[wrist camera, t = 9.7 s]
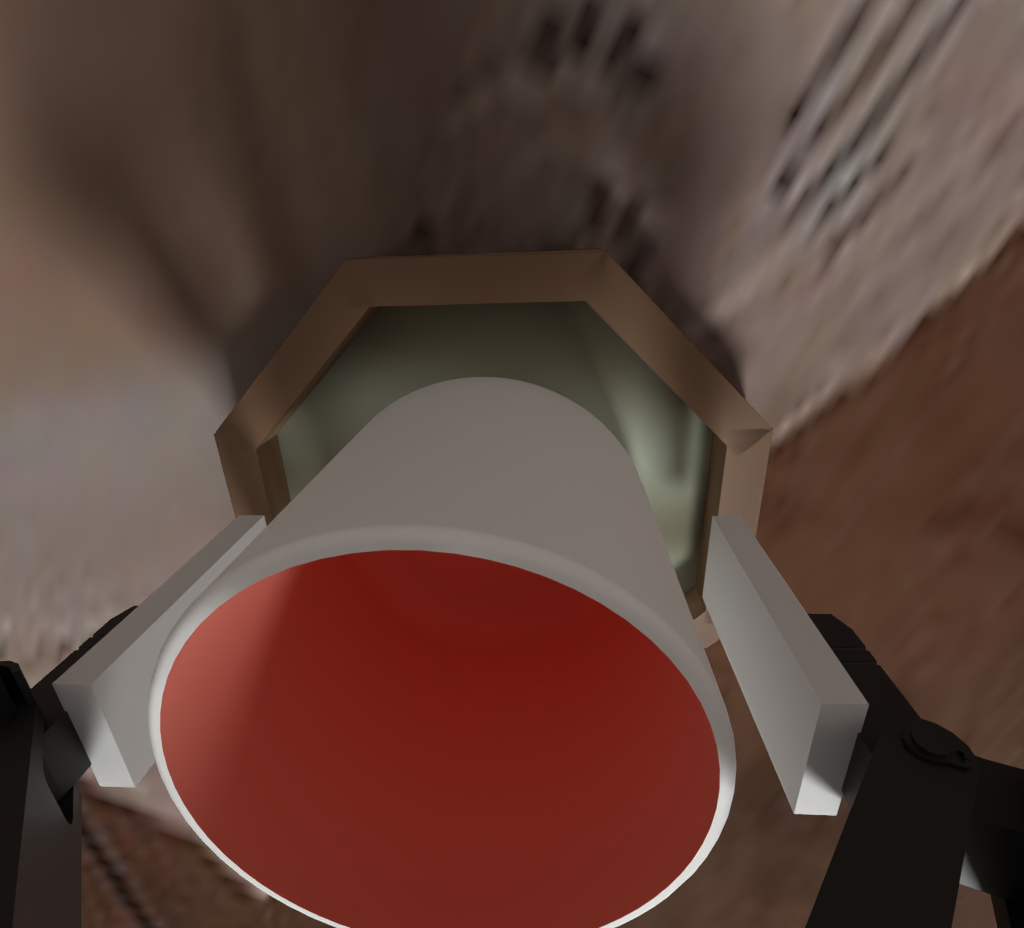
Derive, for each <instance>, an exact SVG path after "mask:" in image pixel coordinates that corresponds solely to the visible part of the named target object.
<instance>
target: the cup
mask: <svg viewBox="0 0 1024 928" xmlns="http://www.w3.org/2000/svg"><path fill="white" fill-rule="evenodd" d="M148 727H149V735H150V740H151V745H152V751H153V755H154V758H155V761H156V764H157V767H158V770H159V773H160V776H161V778H162V780H163V782H164V784H165V786H166V788H167V790H168V792H169V794H170V796H171V798H172V800H173V801H174V803H175V804H176V806H177V808H178V809H179V811H180V812H181V814H182V815H183V817H184V818H185V820H186V821H187V822H188V824H189V825H190V826H191V827H192V829H193V830H194V831H195V832H196V833H197V835H198V836H199V837H200V838H201V840H202V841H203V842H204V843H205V844H206V845H207V846H208V847H209V848H210V849H211V850H212V851H213V852H214V853H215V854H216V855H217V856H218V857H219V858H220V859H221V860H223V861H224V862H225V863H226V864H227V865H229V866H230V867H231V868H232V869H234V870H235V871H236V872H237V873H238V874H240V875H241V876H242V877H243V878H245V879H246V880H248V881H249V882H251V883H252V884H254V885H255V886H256V887H258V888H259V889H261V890H262V891H264V892H265V893H267V894H269V895H270V896H272V897H274V898H275V899H277V900H279V901H281V902H282V903H284V904H286V905H288V906H290V907H292V908H294V909H296V910H298V911H300V912H302V913H304V914H306V915H308V916H310V917H312V918H314V919H317V920H319V921H322V922H324V923H327V924H329V925H331V926H334V927H337V928H615V927H617V926H619V925H622V924H624V923H626V922H628V921H630V920H632V919H634V918H636V917H638V916H639V915H641V914H643V913H644V912H646V911H648V910H649V909H651V908H653V907H654V906H656V905H657V904H658V903H660V902H661V901H663V900H664V899H666V898H667V897H668V896H669V895H670V894H672V893H673V892H674V891H675V890H676V889H677V888H678V887H679V886H680V885H681V884H683V883H684V882H685V881H686V880H687V879H688V878H689V877H690V876H691V875H692V874H693V873H694V872H695V871H696V870H697V868H698V867H699V866H700V865H701V863H702V862H703V861H704V860H705V859H706V857H707V856H708V854H709V852H710V851H711V849H712V848H713V846H714V844H715V843H716V841H717V839H718V838H719V836H720V833H721V831H722V829H723V826H724V824H725V822H726V820H727V817H728V814H729V810H730V806H731V802H732V798H733V794H734V788H735V776H736V755H735V744H734V736H733V732H732V728H731V724H730V721H729V717H728V713H727V709H726V707H725V704H724V701H723V699H722V696H721V693H720V691H719V688H718V685H717V683H716V680H715V677H714V675H713V672H712V669H711V666H710V664H709V661H708V658H707V656H706V653H705V650H704V648H703V645H702V642H701V640H700V637H699V634H698V632H697V629H696V626H695V624H694V621H693V618H692V615H691V613H690V610H689V607H688V605H687V602H686V599H685V597H684V594H683V591H682V589H681V586H680V583H679V581H678V578H677V575H676V573H675V570H674V567H673V564H672V562H671V559H670V556H669V554H668V551H667V548H666V546H665V543H664V540H663V538H662V535H661V532H660V530H659V527H658V524H657V522H656V519H655V516H654V513H653V511H652V508H651V505H650V503H649V500H648V497H647V495H646V492H645V489H644V487H643V484H642V482H641V479H640V477H639V474H638V472H637V470H636V468H635V466H634V464H633V462H632V460H631V459H630V457H629V455H628V454H627V452H626V450H625V449H624V448H623V446H622V445H621V444H620V442H619V441H618V440H617V439H616V437H615V436H614V435H613V434H612V432H611V431H610V430H609V429H608V428H607V427H606V426H605V425H604V424H603V423H602V422H601V421H600V420H598V419H597V418H596V417H595V416H593V415H592V414H591V413H590V412H588V411H587V410H586V409H584V408H583V407H581V406H580V405H578V404H576V403H575V402H573V401H572V400H570V399H568V398H566V397H564V396H562V395H560V394H558V393H556V392H554V391H552V390H549V389H546V388H544V387H541V386H538V385H535V384H531V383H527V382H524V381H520V380H514V379H508V378H499V377H468V378H458V379H453V380H448V381H443V382H439V383H436V384H432V385H429V386H426V387H424V388H421V389H418V390H416V391H414V392H412V393H410V394H408V395H406V396H404V397H402V398H400V399H398V400H397V401H395V402H394V403H392V404H390V405H389V406H388V407H386V408H385V409H384V410H382V411H381V412H380V413H378V414H377V415H376V416H375V417H374V418H373V419H372V420H371V421H370V422H369V423H368V424H367V425H366V426H365V427H364V428H363V429H362V430H361V431H360V432H359V433H358V434H357V435H356V436H355V437H354V438H353V439H352V440H351V441H350V442H349V443H348V444H347V445H346V446H345V447H344V448H343V449H342V450H341V451H340V452H339V453H338V454H337V455H336V456H335V457H334V458H333V459H332V460H331V461H330V462H329V463H328V464H327V465H326V466H325V467H324V468H323V469H322V470H321V471H320V473H319V474H318V475H317V476H316V477H315V478H314V479H313V480H312V481H311V482H310V483H309V484H308V485H307V486H306V487H305V488H304V489H303V490H302V491H301V492H300V493H299V494H298V495H297V496H296V497H295V498H294V499H293V500H292V501H291V502H290V503H289V504H288V505H287V506H286V507H285V508H284V509H283V510H282V511H281V512H280V513H279V514H278V515H277V516H276V517H275V518H274V519H273V521H272V522H271V523H270V524H269V525H268V526H267V527H266V528H265V529H264V530H263V531H262V532H261V533H260V534H259V535H258V536H257V537H256V538H255V539H254V540H253V541H252V542H251V543H250V544H249V545H248V546H247V547H246V548H245V549H244V550H243V551H242V552H241V553H240V554H239V555H238V556H237V557H236V558H235V559H234V560H233V561H232V562H231V563H230V564H229V565H228V566H227V567H226V569H225V570H224V571H223V572H222V573H221V574H220V575H219V576H218V577H217V578H216V579H215V580H214V581H213V582H212V583H211V584H210V585H209V586H208V587H207V588H206V589H205V590H204V591H203V592H202V593H201V594H200V595H199V596H198V597H197V598H196V599H195V600H194V601H193V602H192V603H191V604H190V606H189V607H188V608H187V609H186V610H185V612H184V613H183V614H182V615H181V617H180V618H179V619H178V621H177V622H176V624H175V625H174V627H173V628H172V630H171V631H170V633H169V635H168V637H167V639H166V641H165V643H164V645H163V647H162V648H161V651H160V654H159V657H158V660H157V664H156V667H155V670H154V673H153V676H152V680H151V683H150V690H149V699H148Z"/></svg>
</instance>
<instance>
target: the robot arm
mask: <svg viewBox="0 0 1024 928" xmlns="http://www.w3.org/2000/svg"><path fill="white" fill-rule="evenodd" d="M266 527H267V525H266V521H265V516H264V515H239V516H238V517H237V518H236V519H235V520H234V521H233V522H231V523H230V524H229V525H228V526H227V527H226V528H225V529H224V530H223V531H221V532H220V533H219V534H218V535H217V536H216V537H215V538H214V539H213V540H211V541H210V542H209V543H208V544H207V545H206V546H205V547H204V548H203V549H201V550H200V551H199V552H198V553H197V554H196V555H195V556H194V557H192V558H191V559H190V560H189V561H188V562H187V563H186V564H185V565H184V566H182V567H181V568H180V569H179V570H178V571H177V572H176V573H175V574H174V575H172V576H171V577H170V578H169V579H168V580H167V581H166V582H165V583H164V584H162V585H161V586H160V587H159V588H158V589H157V590H156V591H155V592H154V593H152V594H151V595H150V596H149V597H148V598H147V599H146V600H145V601H144V602H142V603H141V604H140V605H139V606H133V607H131V608H130V609H128V610H126V611H124V612H123V613H121V614H119V615H117V616H116V617H114V618H112V619H111V620H109V621H108V622H107V623H106V624H105V625H104V626H103V627H101V628H100V629H99V630H98V631H97V632H96V633H95V634H93V638H89V639H88V640H87V641H85V642H84V643H83V644H82V645H81V646H80V647H79V650H75V651H74V652H73V653H72V654H70V655H69V656H68V657H67V658H66V659H65V660H64V661H62V662H61V663H60V664H59V665H58V666H57V667H56V668H54V669H53V670H52V671H51V672H50V673H49V674H48V675H46V676H45V677H44V678H43V679H42V680H41V681H39V682H38V683H37V684H36V685H35V686H34V687H33V688H31V689H30V687H29V685H28V683H27V681H26V679H25V677H24V675H23V673H22V671H21V669H20V667H19V664H17V663H15V662H12V661H0V928H81V848H82V794H81V791H80V789H79V786H78V784H77V781H78V779H79V778H80V777H81V776H82V775H83V774H84V773H85V771H86V770H87V769H88V768H89V767H90V766H91V768H92V770H93V772H94V774H95V776H96V778H97V781H98V783H99V785H100V786H109V787H134V788H135V787H136V786H137V785H138V783H139V782H140V781H141V779H142V778H143V777H144V775H145V774H146V773H147V771H148V770H149V769H150V767H151V766H152V765H153V763H154V762H155V758H154V755H153V751H152V745H151V740H150V735H149V727H148V699H149V690H150V683H151V680H152V676H153V673H154V670H155V667H156V664H157V660H158V657H159V654H160V651H161V648H162V647H163V645H164V643H165V641H166V639H167V637H168V635H169V633H170V631H171V630H172V628H173V627H174V625H175V624H176V622H177V621H178V619H179V618H180V617H181V615H182V614H183V613H184V612H185V610H186V609H187V608H188V607H189V606H190V604H191V603H192V602H193V601H194V600H195V599H196V598H197V597H198V596H199V595H200V594H201V593H202V592H203V591H204V590H205V589H206V588H207V587H208V586H209V585H210V584H211V583H212V582H213V581H214V580H215V579H216V578H217V577H218V576H219V575H220V574H221V573H222V572H223V571H224V570H225V569H226V567H227V566H228V565H229V564H230V563H231V562H232V561H233V560H234V559H235V558H236V557H237V556H238V555H239V554H240V553H241V552H242V551H243V550H244V549H245V548H246V547H247V546H248V545H249V544H250V543H251V542H252V541H253V540H254V539H255V538H256V537H257V536H258V535H259V534H260V533H261V532H262V531H263V530H264V529H265V528H266ZM702 597H703V600H704V602H705V605H706V607H707V609H708V612H709V614H710V616H711V619H712V621H713V623H714V626H715V628H716V631H717V633H718V635H719V638H720V640H721V642H722V645H723V647H724V649H725V652H726V654H727V657H728V659H729V661H730V664H731V666H732V668H733V671H734V673H735V675H736V678H737V680H738V683H739V685H740V687H741V690H742V692H743V694H744V697H745V699H746V701H747V704H748V706H749V709H750V711H751V713H752V716H753V718H754V720H755V723H756V725H757V727H758V730H759V732H760V735H761V737H762V739H763V742H764V744H765V746H766V749H767V751H768V753H769V756H770V758H771V761H772V763H773V765H774V768H775V770H776V772H777V775H778V777H779V779H780V782H781V784H782V787H783V789H784V791H785V794H786V796H787V798H788V801H789V803H790V805H791V808H792V810H793V813H794V814H814V815H837V812H838V808H839V805H840V802H841V798H842V795H843V794H844V796H845V798H846V800H847V802H848V804H849V806H850V807H851V811H850V813H849V816H848V818H847V821H846V824H845V826H844V829H843V831H842V834H841V837H840V839H839V842H838V844H837V847H836V849H835V852H834V855H833V857H832V860H831V862H830V865H829V868H828V870H827V873H826V875H825V878H824V880H823V883H822V886H821V888H820V891H819V893H818V896H817V899H816V901H815V904H814V906H813V909H812V911H811V914H810V917H809V919H808V922H807V924H806V927H805V928H951V927H952V921H953V916H954V910H955V905H956V899H957V893H958V888H959V883H960V884H963V885H965V886H968V887H971V888H974V889H977V890H980V891H983V892H986V893H989V894H991V899H992V903H993V908H994V913H995V918H996V923H997V928H1024V770H1023V769H1019V768H1016V767H1012V766H1008V765H1005V764H1001V763H997V762H993V761H990V760H986V759H983V758H980V757H977V756H975V755H974V754H973V752H972V751H971V750H970V748H969V747H968V746H967V745H966V744H965V743H964V742H963V741H962V740H960V739H959V738H958V737H957V736H956V735H955V734H953V733H952V732H950V731H948V730H946V729H945V728H943V727H941V726H939V725H937V724H936V723H933V722H930V721H927V720H924V719H921V718H920V717H919V716H918V714H917V713H916V712H915V710H914V709H913V708H912V707H911V705H910V704H909V703H908V701H907V700H906V699H905V697H904V696H903V695H902V694H901V692H900V691H899V690H898V688H897V687H896V686H895V684H894V683H893V682H892V681H891V679H890V678H889V677H888V675H887V674H886V673H885V671H884V670H883V669H882V668H881V666H880V665H877V661H876V660H875V658H874V657H873V656H872V655H871V653H870V652H869V651H866V647H865V645H864V644H863V643H862V642H861V640H860V639H859V638H858V636H857V635H856V634H855V632H854V631H853V630H852V629H851V628H849V627H848V626H847V625H845V624H844V623H843V622H841V621H840V620H838V619H837V618H836V617H834V616H833V615H831V614H807V613H806V611H805V610H804V608H803V607H802V605H801V604H800V603H799V601H798V600H797V598H796V597H795V595H794V594H793V592H792V591H791V589H790V588H789V586H788V585H787V584H786V582H785V581H784V579H783V578H782V576H781V575H780V573H779V572H778V570H777V569H776V567H775V566H774V564H773V563H772V562H771V560H770V559H769V557H768V556H767V554H766V553H765V551H764V550H763V548H762V547H761V545H760V544H759V542H758V541H757V540H756V538H755V537H754V535H753V534H752V532H751V531H750V529H749V528H748V526H747V525H746V523H745V522H744V520H743V519H742V518H741V516H712V523H711V531H710V539H709V548H708V556H707V564H706V572H705V580H704V588H703V596H702Z"/></svg>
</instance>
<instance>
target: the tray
mask: <svg viewBox="0 0 1024 928" xmlns="http://www.w3.org/2000/svg"><path fill="white" fill-rule="evenodd" d="M468 377H499V378H508V379H514V380H520V381H524V382H527V383H531V384H535V385H538V386H541V387H544V388H546V389H549V390H552V391H554V392H556V393H558V394H560V395H562V396H564V397H566V398H568V399H570V400H572V401H573V402H575V403H576V404H578V405H580V406H581V407H583V408H584V409H586V410H587V411H588V412H590V413H591V414H592V415H593V416H595V417H596V418H597V419H598V420H600V421H601V422H602V423H603V424H604V425H605V426H606V427H607V428H608V429H609V430H610V431H611V432H612V434H613V435H614V436H615V437H616V439H617V440H618V441H619V442H620V444H621V445H622V446H623V448H624V449H625V450H626V452H627V454H628V455H629V457H630V459H631V460H632V462H633V464H634V466H635V468H636V470H637V472H638V474H639V477H640V479H641V482H642V484H643V487H644V489H645V492H646V495H647V497H648V500H649V503H650V505H651V508H652V511H653V513H654V516H655V519H656V522H657V524H658V527H659V530H660V532H661V535H662V538H663V540H664V543H665V546H666V548H667V551H668V554H669V556H670V559H671V562H672V564H673V567H674V570H675V573H676V575H677V578H678V581H679V583H680V586H681V589H682V591H683V594H684V597H685V599H686V602H687V605H688V607H689V610H690V613H691V615H692V618H693V621H694V624H695V626H696V629H697V632H698V634H699V637H700V640H701V642H702V645H703V648H704V649H706V648H707V647H709V646H710V645H712V644H713V643H715V642H716V641H718V640H719V639H720V638H719V635H718V633H717V631H716V628H715V626H714V623H713V621H712V619H711V616H710V614H709V612H708V609H707V607H706V605H705V602H704V600H703V597H702V596H703V588H704V580H705V572H706V564H707V556H708V548H709V539H710V531H711V523H712V516H741V518H742V519H743V520H744V522H745V523H746V525H747V526H748V528H749V529H750V531H751V532H752V534H753V535H754V537H755V538H756V531H757V525H758V519H759V513H760V507H761V501H762V494H763V488H764V482H765V476H766V470H767V463H768V457H769V451H770V445H771V439H772V433H773V428H772V427H770V425H769V424H768V423H767V422H766V421H765V420H764V419H763V418H762V417H761V416H760V415H759V414H758V413H757V412H756V411H755V409H754V408H753V407H752V406H751V405H750V404H749V403H748V402H747V401H746V400H745V399H744V398H743V397H742V396H741V395H740V393H739V392H738V391H737V390H736V389H735V388H734V387H733V386H732V385H731V384H730V383H729V382H728V381H727V380H726V379H725V378H724V376H723V375H722V374H721V373H720V372H719V371H718V370H717V369H716V368H715V367H714V366H713V365H712V364H711V363H710V362H709V360H708V359H707V358H706V357H705V356H704V355H703V354H702V353H701V352H700V351H699V350H698V349H697V348H696V347H695V346H694V344H693V343H692V342H691V341H690V340H689V339H688V338H687V337H686V336H685V335H684V334H683V333H682V332H681V331H680V330H679V328H678V327H677V326H676V325H675V324H674V323H673V322H672V321H671V320H670V319H669V318H668V317H667V316H666V315H665V314H664V312H663V311H662V310H661V309H660V308H659V307H658V306H657V305H656V304H655V303H654V302H653V301H652V300H651V299H650V298H649V296H648V295H647V294H646V293H645V292H644V291H643V290H642V289H641V288H640V287H639V286H638V285H637V284H636V283H635V282H634V280H633V279H632V278H631V277H630V276H629V275H628V274H627V273H626V272H625V271H624V270H623V269H622V268H621V267H620V266H619V264H618V263H617V262H616V261H615V260H614V259H613V258H612V257H611V256H610V255H609V254H608V253H607V252H606V251H604V250H600V249H592V250H562V251H532V252H502V253H473V254H443V255H413V256H383V257H365V258H356V259H348V260H344V262H343V263H342V264H341V266H340V267H339V268H338V270H337V271H336V272H335V274H334V275H333V276H332V278H331V279H330V280H329V282H328V283H327V284H326V286H325V287H324V288H323V290H322V291H321V292H320V294H319V295H318V296H317V298H316V299H315V300H314V302H313V303H312V304H311V306H310V307H309V308H308V310H307V311H306V312H305V314H304V315H303V316H302V318H301V319H300V320H299V322H298V323H297V324H296V326H295V327H294V328H293V330H292V331H291V332H290V334H289V335H288V336H287V338H286V339H285V341H284V342H283V343H282V345H281V346H280V347H279V349H278V350H277V351H276V353H275V354H274V355H273V357H272V358H271V359H270V361H269V362H268V363H267V365H266V366H265V367H264V369H263V370H262V371H261V373H260V374H259V375H258V377H257V378H256V379H255V381H254V382H253V383H252V385H251V386H250V387H249V389H248V390H247V391H246V393H245V394H244V395H243V397H242V398H241V399H240V401H239V402H238V403H237V405H236V406H235V407H234V409H233V410H232V411H231V413H230V414H229V415H228V417H227V418H226V419H225V421H224V422H223V423H222V425H221V426H220V427H219V429H218V430H217V431H216V433H215V434H214V436H215V440H216V444H217V448H218V452H219V456H220V460H221V463H222V467H223V471H224V475H225V479H226V483H227V487H228V490H229V494H230V498H231V502H232V506H233V510H234V513H235V517H236V518H237V517H238V516H239V515H264V516H265V521H266V525H267V526H268V525H269V524H270V523H271V522H272V521H273V519H274V518H275V517H276V516H277V515H278V514H279V513H280V512H281V511H282V510H283V509H284V508H285V507H286V506H287V505H288V504H289V503H290V502H291V501H292V500H293V499H294V498H295V497H296V496H297V495H298V494H299V493H300V492H301V491H302V490H303V489H304V488H305V487H306V486H307V485H308V484H309V483H310V482H311V481H312V480H313V479H314V478H315V477H316V476H317V475H318V474H319V473H320V471H321V470H322V469H323V468H324V467H325V466H326V465H327V464H328V463H329V462H330V461H331V460H332V459H333V458H334V457H335V456H336V455H337V454H338V453H339V452H340V451H341V450H342V449H343V448H344V447H345V446H346V445H347V444H348V443H349V442H350V441H351V440H352V439H353V438H354V437H355V436H356V435H357V434H358V433H359V432H360V431H361V430H362V429H363V428H364V427H365V426H366V425H367V424H368V423H369V422H370V421H371V420H372V419H373V418H374V417H375V416H376V415H377V414H378V413H380V412H381V411H382V410H384V409H385V408H386V407H388V406H389V405H390V404H392V403H394V402H395V401H397V400H398V399H400V398H402V397H404V396H406V395H408V394H410V393H412V392H414V391H416V390H418V389H421V388H424V387H426V386H429V385H432V384H436V383H439V382H443V381H448V380H453V379H458V378H468Z"/></svg>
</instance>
